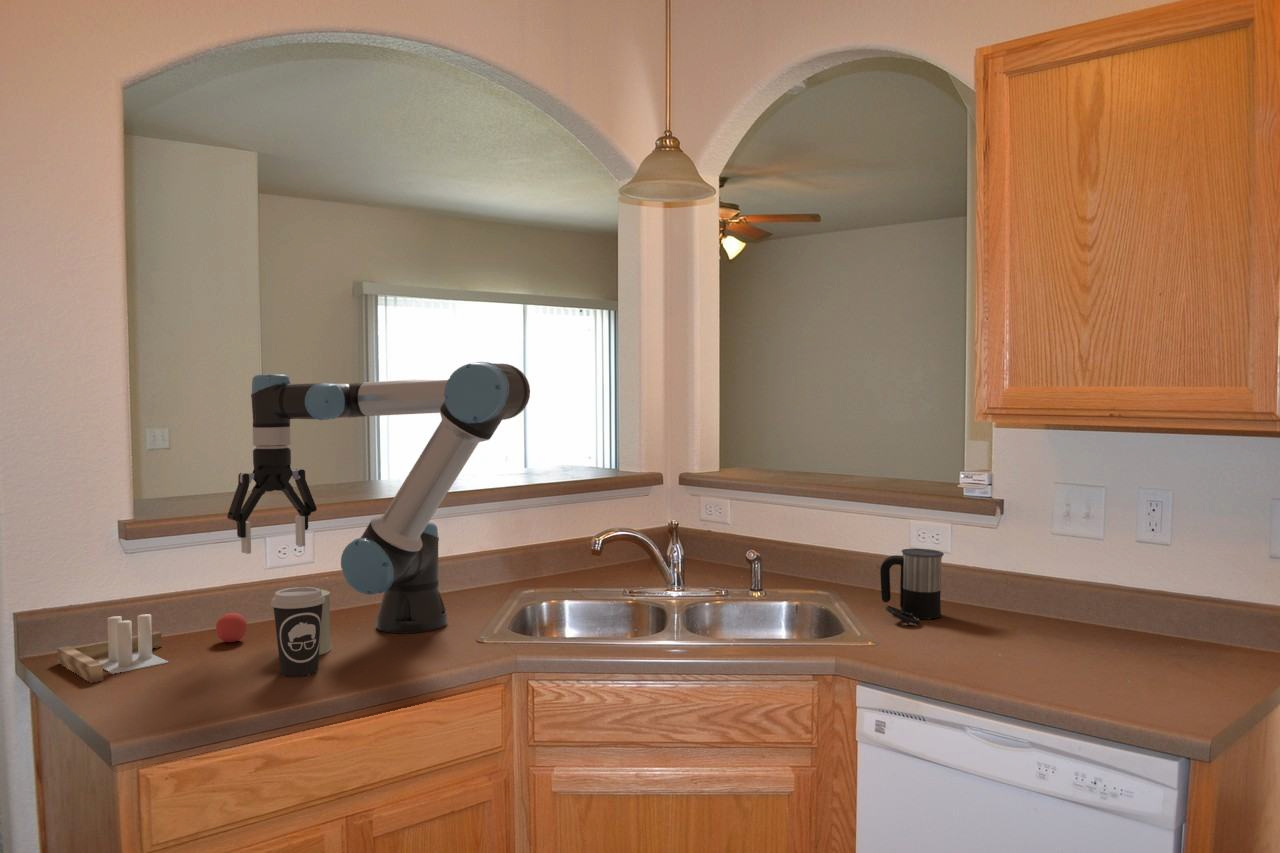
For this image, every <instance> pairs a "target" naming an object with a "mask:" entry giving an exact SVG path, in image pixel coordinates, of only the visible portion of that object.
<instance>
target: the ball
mask: <svg viewBox="0 0 1280 853" xmlns="http://www.w3.org/2000/svg"><path fill="white" fill-rule="evenodd" d="M247 631H248V622H247V620H246V618H245V617H244V616H243V615H241V614H240V613H236V612H228V613H225V614H224V615H222V616H220V617H219V619H218V620H217V623H216V626H215V632H216V635H217V637H218V638H219V639H220V640H221V641H222V642H225V643H236V642H238V641H240V640H241V639H243V638H244V636H245V635H246V633H247Z"/></svg>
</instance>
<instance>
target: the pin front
mask: <svg viewBox="0 0 1280 853" xmlns="http://www.w3.org/2000/svg"><path fill="white" fill-rule="evenodd" d="M136 618H137V635H138V659H139V660H146V659H150V658H152V654H153V649H152V631H153V630H152V614H151V613H148V614H147V613H145V614H139V615H137V617H136Z"/></svg>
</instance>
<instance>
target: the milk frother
mask: <svg viewBox="0 0 1280 853" xmlns="http://www.w3.org/2000/svg"><path fill="white" fill-rule="evenodd" d="M900 552H901V553H902V555H890V556H888V557H886V558H885V559H884V560H883V561H882V563H881V565H880V570H879V571H880V572H879V573H880V575H879V576H880V592H881V593H880V594H881V600H882V602H883V603H889V602H890V600H891V599H892V598H891V597H892V596H891V575H890V574H891V572H890V570H891V567H893V566H894V565H899V566H900V584H899V586H900V588H899V589H900V590H899V591H900V595H899V596H900V597H899V599H900V600H899V602H900V603H899V606H900V609H899V608H896V607H895V606H894V607H893V606H891V605H886V607H885V611H887V612H888V613H890V614H891V615H892V616H894V617H896V618H898V619H899V620H900V621H902V622H903V623H906V624H908V625H909V624H910V623H911V624H919V623H920V621H921V620H933V619H932V618H937V619H939V618H938V617H940V618H942V615H943V614H942V612H941V611H942V610H941V601H942V600H941V592H942V591H941V589H942V587H941V585H942V559H943V556H944V552H942V551H940V550H936V549H930V548H929V549H927V548H905V549H902V550H901V551H900ZM918 618H921V619H918Z"/></svg>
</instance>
